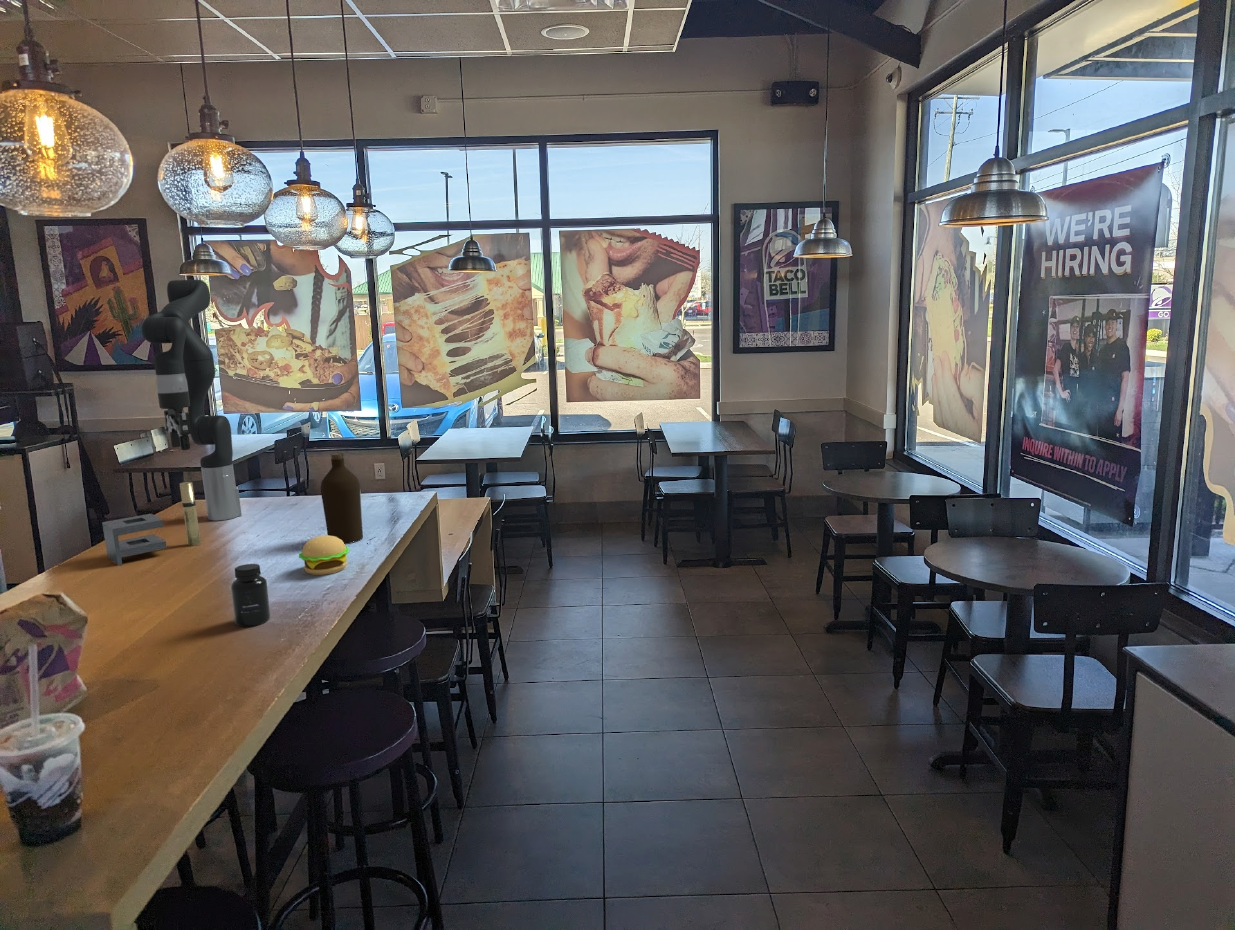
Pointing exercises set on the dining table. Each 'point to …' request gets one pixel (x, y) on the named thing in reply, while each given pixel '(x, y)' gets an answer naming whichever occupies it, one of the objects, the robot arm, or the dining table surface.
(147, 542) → the collar stand
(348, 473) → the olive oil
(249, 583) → the supplement bottle
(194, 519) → the brass tube
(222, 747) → the dining table surface
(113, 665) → the dining table surface
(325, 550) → the hamburger
